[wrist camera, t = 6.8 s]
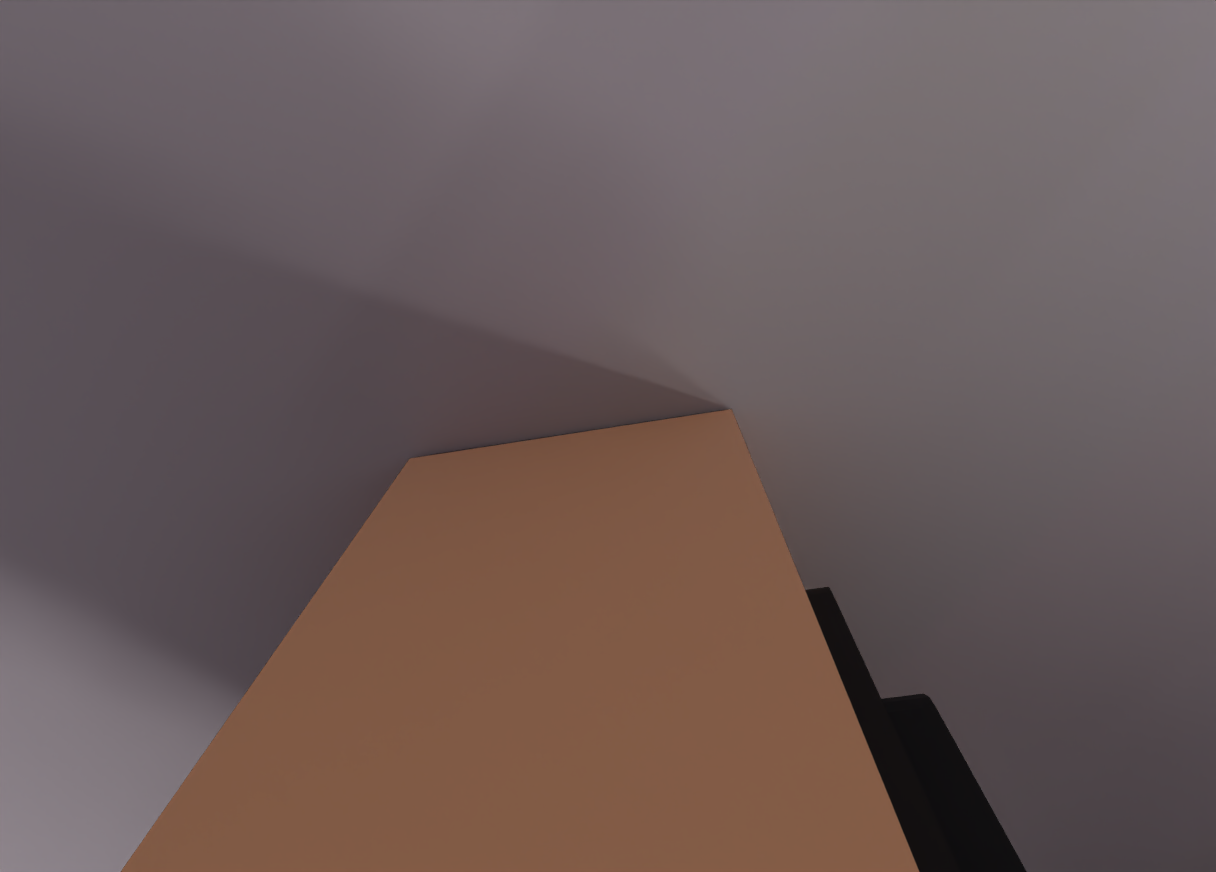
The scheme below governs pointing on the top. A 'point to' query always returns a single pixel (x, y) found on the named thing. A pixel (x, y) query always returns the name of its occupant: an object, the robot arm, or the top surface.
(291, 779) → the scraper tool
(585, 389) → the top surface
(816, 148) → the top surface
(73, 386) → the top surface
